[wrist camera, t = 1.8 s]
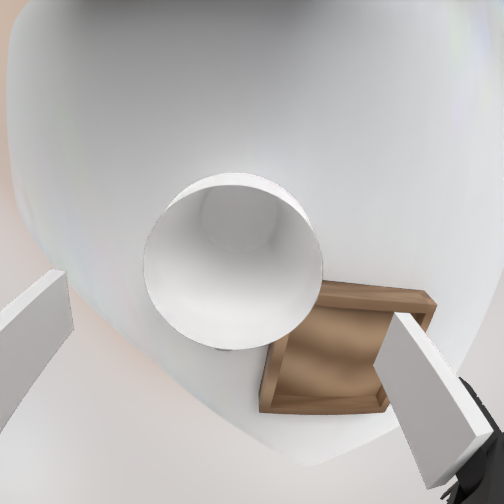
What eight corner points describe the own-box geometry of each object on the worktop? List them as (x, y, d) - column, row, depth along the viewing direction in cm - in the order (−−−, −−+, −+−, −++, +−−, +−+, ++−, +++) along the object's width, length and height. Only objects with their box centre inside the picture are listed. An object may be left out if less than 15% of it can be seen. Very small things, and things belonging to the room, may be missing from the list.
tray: (283, 275, 28) (286, 291, 25) (423, 290, 29) (437, 304, 26) (258, 393, 33) (259, 412, 31) (377, 395, 34) (384, 412, 31)
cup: (312, 235, 27) (352, 307, 16) (220, 281, 28) (203, 372, 17) (262, 139, 24) (272, 142, 13) (166, 194, 25) (105, 241, 14)
